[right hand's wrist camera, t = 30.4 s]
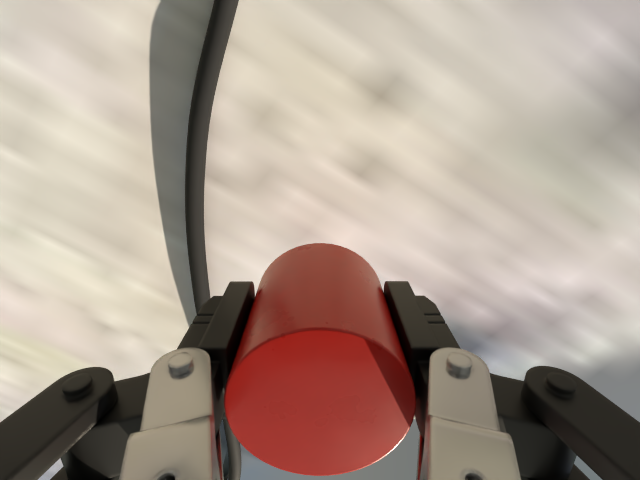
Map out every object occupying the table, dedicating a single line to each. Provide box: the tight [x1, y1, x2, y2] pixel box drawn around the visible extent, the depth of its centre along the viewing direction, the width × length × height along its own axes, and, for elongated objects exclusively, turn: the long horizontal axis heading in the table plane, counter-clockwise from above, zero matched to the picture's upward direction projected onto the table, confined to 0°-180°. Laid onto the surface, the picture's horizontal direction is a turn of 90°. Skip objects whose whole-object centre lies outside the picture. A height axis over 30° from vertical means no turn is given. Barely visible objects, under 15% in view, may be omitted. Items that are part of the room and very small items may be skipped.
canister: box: [224, 243, 416, 476], centre depth 10 cm, size 4×4×5 cm
